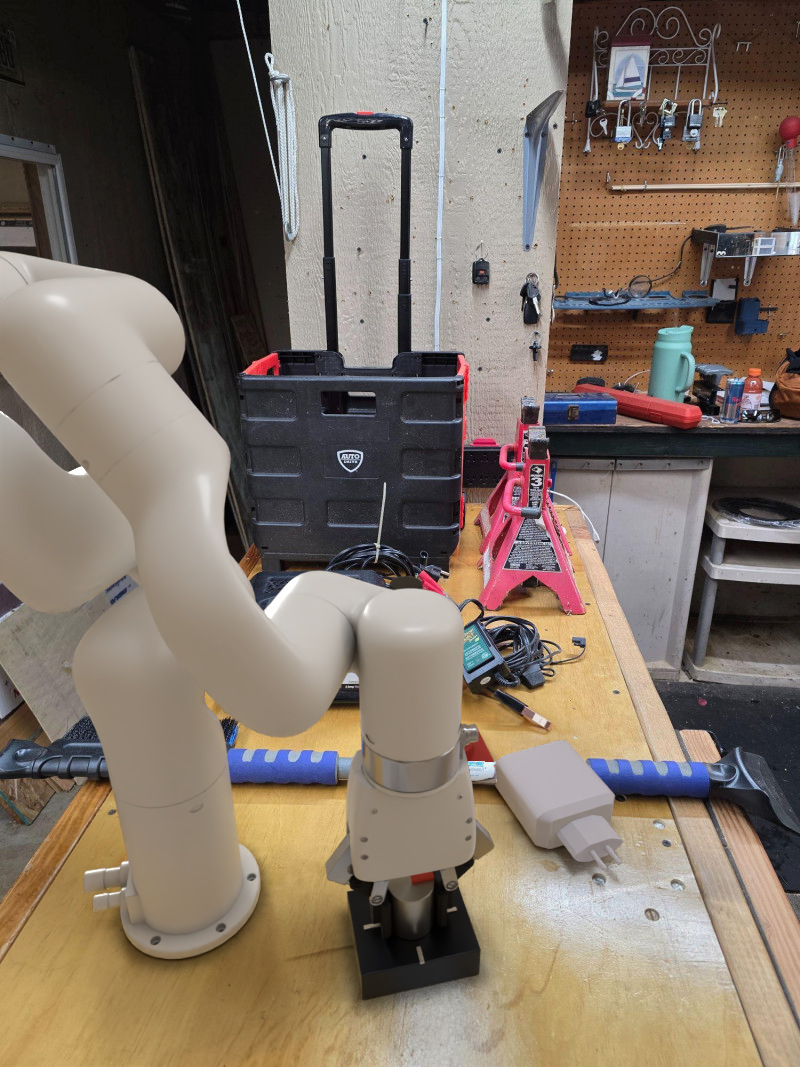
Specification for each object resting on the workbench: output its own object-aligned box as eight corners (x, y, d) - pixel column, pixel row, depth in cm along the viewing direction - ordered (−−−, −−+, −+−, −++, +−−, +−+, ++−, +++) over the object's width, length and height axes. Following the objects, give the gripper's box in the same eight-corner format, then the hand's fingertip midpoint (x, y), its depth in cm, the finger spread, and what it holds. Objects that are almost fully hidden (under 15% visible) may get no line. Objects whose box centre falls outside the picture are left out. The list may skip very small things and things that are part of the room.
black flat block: (362, 1001, 56) (361, 975, 55) (347, 913, 63) (346, 888, 62) (479, 975, 58) (481, 949, 57) (452, 892, 65) (453, 868, 64)
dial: (392, 944, 57) (392, 903, 55) (383, 903, 61) (382, 863, 59) (439, 934, 58) (440, 893, 56) (427, 894, 61) (427, 854, 60)
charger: (568, 900, 64) (494, 790, 77) (649, 871, 67) (565, 769, 80) (572, 862, 62) (496, 756, 75) (656, 834, 65) (568, 737, 78)
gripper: (498, 703, 57) (489, 864, 64) (295, 732, 54) (309, 899, 61) (534, 764, 50) (519, 937, 57) (304, 802, 47) (318, 980, 54)
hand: (411, 916), depth 59 cm, fingers closed on black flat block, 4 cm apart
